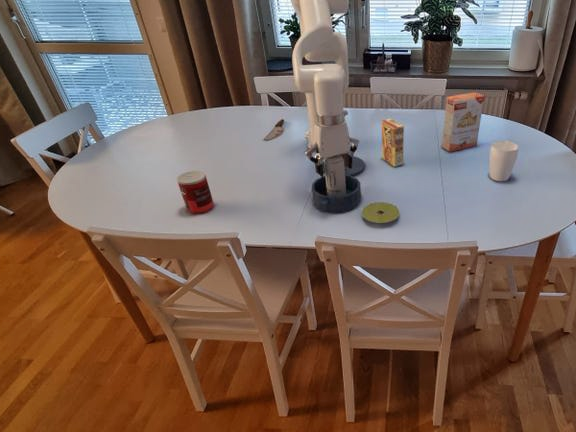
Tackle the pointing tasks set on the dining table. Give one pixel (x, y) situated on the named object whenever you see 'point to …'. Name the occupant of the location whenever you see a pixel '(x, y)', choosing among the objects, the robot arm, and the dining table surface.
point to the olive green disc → (380, 212)
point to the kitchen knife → (275, 131)
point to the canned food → (195, 192)
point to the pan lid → (356, 166)
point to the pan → (338, 202)
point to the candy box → (392, 142)
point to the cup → (502, 159)
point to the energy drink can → (335, 176)
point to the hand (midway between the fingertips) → (334, 170)
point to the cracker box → (462, 121)
